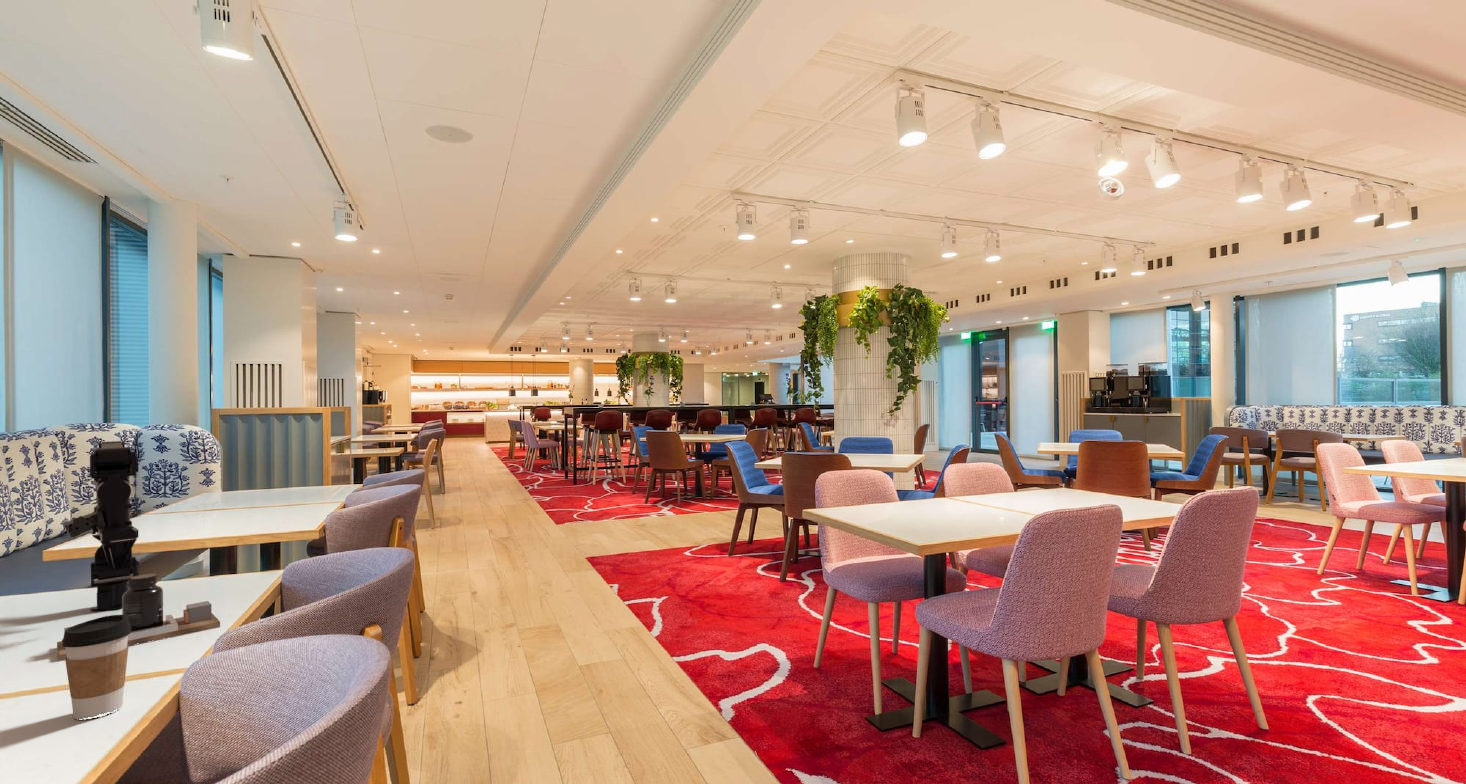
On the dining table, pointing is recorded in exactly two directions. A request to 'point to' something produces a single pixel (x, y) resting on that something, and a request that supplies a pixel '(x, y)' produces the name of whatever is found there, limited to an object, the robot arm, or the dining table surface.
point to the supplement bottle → (143, 602)
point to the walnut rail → (170, 626)
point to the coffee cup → (97, 664)
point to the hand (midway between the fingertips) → (114, 566)
